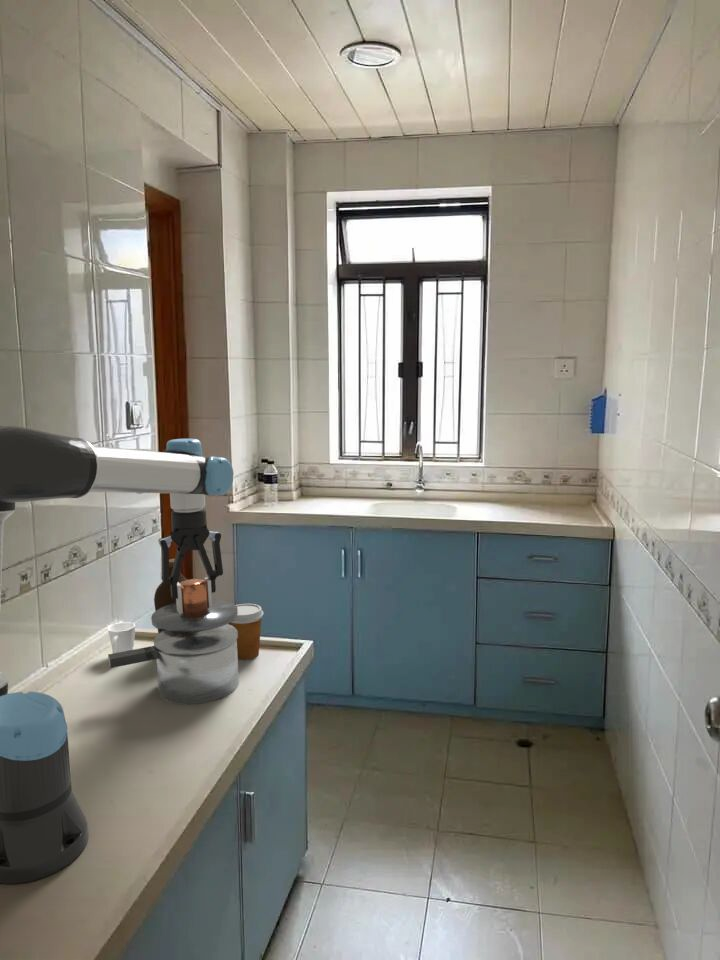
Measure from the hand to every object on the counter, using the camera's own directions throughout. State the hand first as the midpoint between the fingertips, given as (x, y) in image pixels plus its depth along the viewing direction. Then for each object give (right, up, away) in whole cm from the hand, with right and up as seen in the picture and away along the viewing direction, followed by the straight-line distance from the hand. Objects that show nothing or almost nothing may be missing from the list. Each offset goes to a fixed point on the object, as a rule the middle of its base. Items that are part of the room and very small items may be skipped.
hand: (194, 608), depth 160 cm
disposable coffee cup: (+8, -15, +20) cm, 27 cm away
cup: (-23, -16, +19) cm, 34 cm away
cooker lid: (0, -2, 0) cm, 2 cm away
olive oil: (-9, -16, +21) cm, 27 cm away
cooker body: (-4, -19, +1) cm, 19 cm away
